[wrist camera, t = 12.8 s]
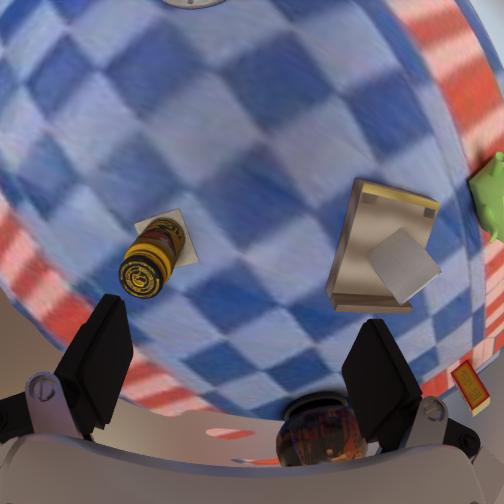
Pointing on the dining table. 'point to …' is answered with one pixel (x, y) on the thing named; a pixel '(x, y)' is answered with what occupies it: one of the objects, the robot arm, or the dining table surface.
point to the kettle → (490, 196)
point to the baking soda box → (471, 388)
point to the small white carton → (402, 265)
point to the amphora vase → (319, 432)
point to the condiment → (156, 254)
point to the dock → (375, 244)
